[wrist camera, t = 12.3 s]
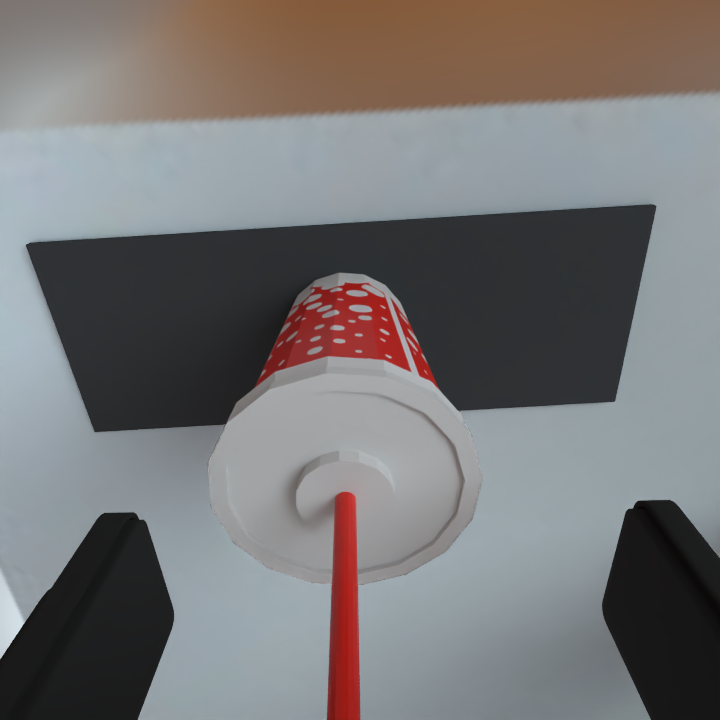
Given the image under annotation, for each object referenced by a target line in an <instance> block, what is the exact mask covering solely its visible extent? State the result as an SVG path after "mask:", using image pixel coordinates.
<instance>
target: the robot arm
mask: <svg viewBox="0 0 720 720" xmlns="http://www.w3.org/2000/svg"><path fill="white" fill-rule="evenodd" d="M602 610H603V615H604V619H605V622H606V624H607V626H608V629H609V631H610V633H611V635H612V637H613V639H614V641H615V644H616V646H617V648H618V650H619V652H620V654H621V656H622V658H623V661H624V663H625V665H626V667H627V669H628V671H629V673H630V676H631V678H632V680H633V682H634V684H635V686H636V688H637V691H638V693H639V695H640V697H641V699H642V701H643V703H644V706H645V708H646V710H647V712H648V714H649V716H650V718H651V720H720V558H719V557H718V556H717V554H716V553H715V552H714V551H713V549H712V548H711V547H710V546H709V544H708V543H707V542H706V541H705V539H704V538H703V537H702V535H701V534H700V533H699V532H698V530H697V529H696V528H695V527H694V525H693V524H692V523H691V522H690V520H689V519H688V518H687V517H686V515H685V514H684V513H683V511H682V510H681V509H680V508H679V506H678V505H677V504H676V503H675V502H673V501H671V500H650V501H637V502H636V503H635V505H634V508H633V509H628V510H627V511H626V513H625V517H624V521H623V525H622V529H621V532H620V536H619V540H618V544H617V548H616V552H615V555H614V559H613V563H612V567H611V571H610V575H609V579H608V582H607V586H606V590H605V594H604V598H603V602H602ZM173 621H174V610H173V606H172V603H171V600H170V596H169V593H168V590H167V587H166V584H165V580H164V577H163V574H162V571H161V568H160V565H159V561H158V558H157V555H156V552H155V549H154V545H153V542H152V539H151V536H150V533H149V530H148V526H147V524H146V522H145V521H144V520H139V518H138V516H137V514H135V513H133V512H127V513H104V514H102V515H100V516H99V518H98V519H97V520H96V522H95V523H94V525H93V526H92V528H91V529H90V531H89V532H88V534H87V535H86V537H85V538H84V540H83V541H82V543H81V544H80V546H79V547H78V549H77V550H76V552H75V553H74V555H73V556H72V558H71V559H70V561H69V562H68V564H67V565H66V567H65V568H64V570H63V571H62V573H61V574H60V576H59V577H58V579H57V580H56V582H55V583H54V585H53V586H52V588H51V589H49V590H48V591H47V592H46V593H45V595H44V596H43V597H42V598H41V600H40V601H39V603H38V604H37V605H36V607H35V608H34V610H33V611H32V613H31V614H30V616H29V617H28V619H27V620H26V622H25V623H24V625H23V626H22V628H21V629H20V631H19V632H18V634H17V635H16V637H15V638H14V640H13V641H12V643H11V644H10V646H9V647H8V649H7V650H6V652H5V653H4V655H3V656H2V658H1V659H0V720H138V717H139V714H140V712H141V709H142V706H143V704H144V701H145V698H146V696H147V693H148V691H149V688H150V685H151V683H152V680H153V677H154V675H155V672H156V669H157V667H158V664H159V662H160V659H161V656H162V654H163V651H164V648H165V646H166V643H167V640H168V638H169V635H170V632H171V630H172V626H173Z"/></svg>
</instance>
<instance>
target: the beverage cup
mask: <svg viewBox="0 0 720 720" xmlns="http://www.w3.org/2000/svg"><path fill="white" fill-rule="evenodd" d="M208 476H209V491H210V505H211V508H212V509H213V511H214V512H215V514H216V516H217V517H218V519H219V521H220V522H221V524H222V526H223V527H224V529H225V530H226V532H227V534H228V535H229V537H230V539H231V540H232V542H233V543H234V544H236V545H237V546H239V547H240V548H241V549H243V550H244V551H245V552H247V553H248V554H249V555H251V556H252V557H254V558H255V559H256V560H258V561H259V562H260V563H262V564H263V565H264V566H266V567H267V568H269V569H271V570H274V571H277V572H280V573H284V574H287V575H290V576H293V577H296V578H299V579H302V580H305V581H308V582H311V583H320V584H332V593H331V622H330V650H329V678H328V706H327V720H360V676H359V623H358V585H363V584H368V583H372V582H376V581H381V580H385V579H389V578H393V577H398V576H402V575H406V574H408V573H410V572H412V571H413V570H415V569H417V568H419V567H420V566H422V565H424V564H425V563H427V562H429V561H431V560H432V559H434V558H436V557H438V556H439V555H441V554H443V553H444V552H446V551H447V550H448V548H449V547H450V546H451V545H452V543H453V542H454V541H455V540H456V539H457V537H458V536H459V535H460V534H461V533H462V531H463V530H464V529H465V528H466V527H467V525H468V524H469V523H470V522H471V521H472V519H473V516H474V512H475V508H476V505H477V501H478V497H479V493H480V489H481V485H482V481H483V477H482V473H481V469H480V465H479V462H478V458H477V454H476V450H475V446H474V442H473V439H472V435H471V433H470V430H469V428H468V427H467V426H466V425H465V422H464V418H463V416H462V415H461V414H460V413H459V411H458V410H457V409H456V408H455V407H454V406H453V405H452V404H451V403H450V401H449V400H448V399H447V398H446V397H445V396H444V395H443V394H442V393H441V391H440V390H439V388H438V386H437V383H436V381H435V379H434V377H433V375H432V372H431V370H430V368H429V366H428V363H427V361H426V359H425V357H424V354H423V352H422V350H421V348H420V345H419V343H418V341H417V339H416V336H415V334H414V332H413V330H412V328H411V325H410V323H409V321H408V319H407V316H406V314H405V312H404V310H403V307H402V305H401V303H400V302H399V300H398V299H397V298H396V297H395V296H394V295H393V293H392V292H391V291H390V290H389V289H388V288H387V286H386V285H384V284H382V283H380V282H378V281H376V280H374V279H372V278H370V277H368V276H366V275H364V274H352V273H336V274H333V275H330V276H327V277H323V278H320V279H317V280H315V281H314V282H313V283H312V284H310V285H309V286H308V287H307V288H306V289H304V290H303V291H302V292H301V293H300V294H299V295H298V296H297V298H296V300H295V302H294V304H293V306H292V308H291V310H290V312H289V315H288V317H287V319H286V321H285V323H284V325H283V327H282V330H281V332H280V334H279V336H278V338H277V340H276V343H275V345H274V347H273V349H272V351H271V353H270V355H269V358H268V360H267V362H266V364H265V366H264V368H263V371H262V373H261V375H260V377H259V379H258V381H257V383H256V386H255V388H254V389H253V390H252V391H250V392H249V393H248V394H247V395H245V396H244V397H243V398H242V399H240V400H239V401H238V402H237V403H236V405H235V407H234V409H233V411H232V413H231V415H230V417H229V419H228V421H227V423H226V425H225V427H224V429H223V431H222V434H221V436H220V438H219V440H218V442H217V444H216V446H215V448H214V450H213V452H212V455H211V457H210V459H209V462H208Z"/></svg>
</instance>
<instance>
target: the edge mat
mask: <svg viewBox="0 0 720 720" xmlns="http://www.w3.org/2000/svg"><path fill="white" fill-rule="evenodd" d="M655 210H656V206H655V205H652V204H650V205H634V206H618V207H602V208H586V209H569V210H553V211H537V212H521V213H505V214H488V215H472V216H456V217H440V218H424V219H407V220H391V221H375V222H359V223H343V224H326V225H310V226H294V227H278V228H262V229H245V230H229V231H213V232H197V233H181V234H164V235H148V236H132V237H116V238H100V239H83V240H67V241H51V242H35V243H29V244H27V245H26V247H27V250H28V252H29V255H30V258H31V260H32V263H33V266H34V269H35V271H36V274H37V277H38V279H39V282H40V285H41V287H42V290H43V293H44V296H45V298H46V301H47V304H48V306H49V309H50V312H51V315H52V317H53V320H54V323H55V325H56V328H57V331H58V334H59V336H60V339H61V342H62V344H63V347H64V350H65V353H66V355H67V358H68V361H69V363H70V366H71V369H72V372H73V374H74V377H75V380H76V382H77V385H78V388H79V390H80V393H81V396H82V399H83V401H84V404H85V407H86V409H87V412H88V415H89V418H90V420H91V423H92V426H93V428H94V431H95V432H103V431H121V430H138V429H155V428H172V427H189V426H206V425H223V424H226V423H227V421H228V419H229V417H230V415H231V413H232V411H233V409H234V407H235V405H236V403H237V402H238V401H239V400H240V399H242V398H243V397H244V396H245V395H247V394H248V393H249V392H250V391H252V390H253V389H254V388H255V386H256V383H257V381H258V379H259V377H260V375H261V373H262V371H263V368H264V366H265V364H266V362H267V360H268V358H269V355H270V353H271V351H272V349H273V347H274V345H275V343H276V340H277V338H278V336H279V334H280V332H281V330H282V327H283V325H284V323H285V321H286V319H287V317H288V315H289V312H290V310H291V308H292V306H293V304H294V302H295V300H296V298H297V296H298V295H299V294H300V293H301V292H302V291H303V290H304V289H306V288H307V287H308V286H309V285H310V284H312V283H313V282H314V281H315V280H317V279H320V278H323V277H327V276H330V275H333V274H336V273H352V274H364V275H366V276H368V277H370V278H372V279H374V280H376V281H378V282H380V283H382V284H384V285H386V286H387V288H388V289H389V290H390V291H391V292H392V293H393V295H394V296H395V297H396V298H397V299H398V300H399V302H400V303H401V305H402V307H403V310H404V312H405V314H406V316H407V319H408V321H409V323H410V325H411V328H412V330H413V332H414V334H415V336H416V339H417V341H418V343H419V345H420V348H421V350H422V352H423V354H424V357H425V359H426V361H427V363H428V366H429V368H430V370H431V372H432V375H433V377H434V379H435V381H436V383H437V386H438V388H439V390H440V391H441V393H442V394H443V395H444V396H445V397H446V398H447V399H448V400H449V401H450V403H451V404H452V405H453V406H454V407H455V408H456V409H457V410H458V411H461V410H478V409H495V408H512V407H529V406H547V405H564V404H581V403H598V402H614V401H615V399H616V394H617V389H618V385H619V380H620V375H621V370H622V366H623V361H624V356H625V352H626V347H627V342H628V337H629V333H630V328H631V323H632V319H633V314H634V309H635V305H636V300H637V295H638V290H639V286H640V281H641V276H642V272H643V267H644V262H645V257H646V253H647V248H648V243H649V239H650V234H651V229H652V225H653V220H654V215H655Z"/></svg>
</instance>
